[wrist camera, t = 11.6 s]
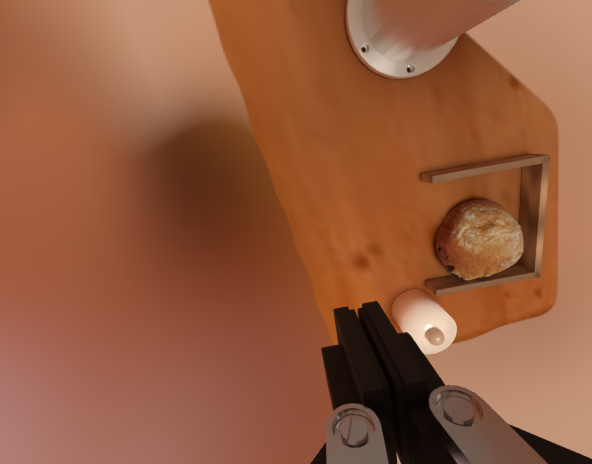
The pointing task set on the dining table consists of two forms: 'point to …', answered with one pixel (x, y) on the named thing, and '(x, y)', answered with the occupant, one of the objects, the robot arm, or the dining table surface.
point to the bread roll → (479, 239)
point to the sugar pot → (424, 320)
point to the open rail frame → (529, 219)
